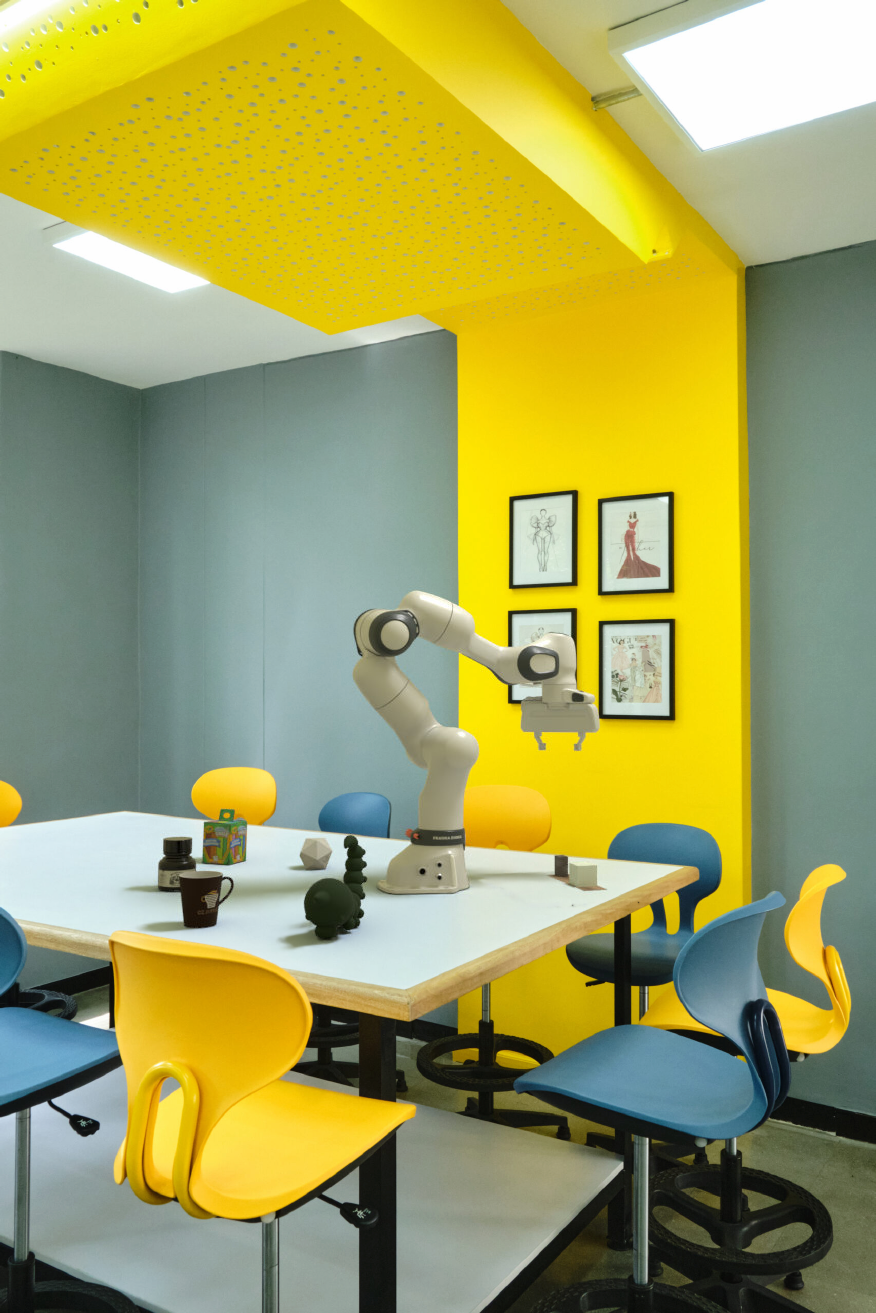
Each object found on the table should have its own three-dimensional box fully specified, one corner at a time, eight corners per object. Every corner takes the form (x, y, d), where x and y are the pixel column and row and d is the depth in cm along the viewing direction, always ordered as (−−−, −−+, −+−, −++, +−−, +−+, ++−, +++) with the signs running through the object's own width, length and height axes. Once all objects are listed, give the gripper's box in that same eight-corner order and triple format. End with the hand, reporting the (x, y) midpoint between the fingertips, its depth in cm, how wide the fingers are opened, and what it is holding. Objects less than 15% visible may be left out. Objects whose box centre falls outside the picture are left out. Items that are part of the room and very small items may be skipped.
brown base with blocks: (584, 895, 227) (584, 869, 227) (547, 879, 248) (547, 855, 248) (607, 893, 229) (607, 867, 229) (568, 877, 250) (568, 854, 250)
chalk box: (201, 863, 271) (202, 810, 272) (219, 858, 280) (220, 807, 281) (230, 865, 268) (230, 811, 269) (247, 860, 277) (248, 808, 278)
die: (321, 874, 258) (340, 842, 263) (292, 857, 259) (312, 825, 263) (319, 880, 266) (337, 849, 270) (291, 864, 266) (310, 833, 271)
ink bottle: (154, 892, 228) (155, 841, 229) (157, 886, 237) (158, 836, 238) (197, 891, 230) (197, 840, 231) (198, 884, 239) (199, 835, 240)
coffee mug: (181, 931, 190) (182, 879, 190) (175, 922, 197) (175, 872, 198) (241, 925, 194) (241, 875, 195) (232, 917, 202) (233, 868, 203)
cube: (577, 887, 231) (577, 865, 232) (569, 883, 236) (569, 862, 236) (597, 886, 233) (597, 865, 233) (588, 882, 238) (588, 861, 238)
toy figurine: (333, 925, 202) (288, 942, 178) (337, 833, 205) (293, 837, 181) (377, 928, 200) (337, 945, 176) (380, 834, 203) (341, 839, 179)
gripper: (516, 696, 250) (517, 750, 249) (594, 695, 242) (594, 751, 241) (525, 696, 256) (525, 749, 255) (601, 695, 247) (601, 750, 247)
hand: (559, 750), depth 248 cm, fingers open, 8 cm apart
